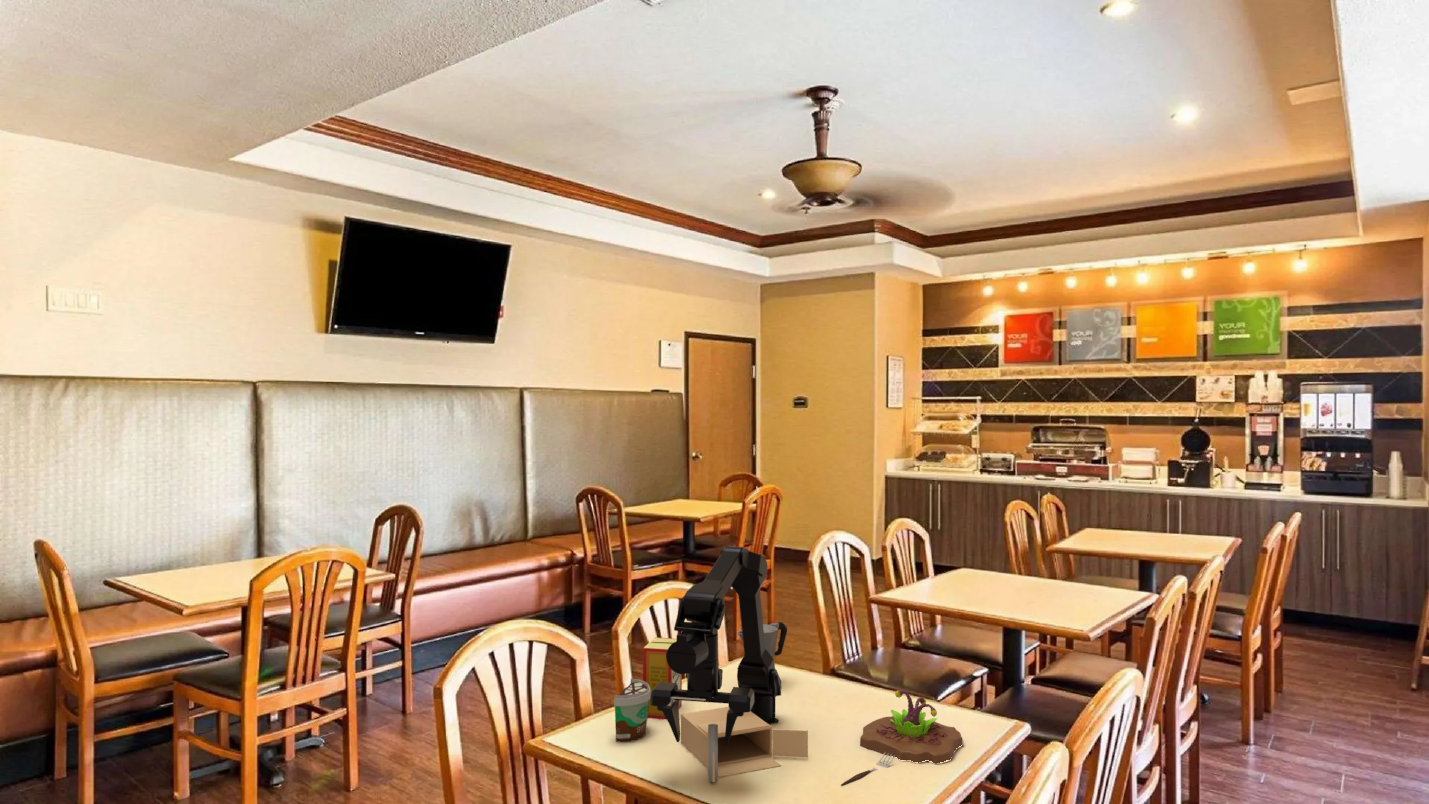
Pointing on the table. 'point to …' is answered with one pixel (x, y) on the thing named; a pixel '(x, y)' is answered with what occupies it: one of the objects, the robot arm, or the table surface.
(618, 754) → the table surface
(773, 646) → the coffeepot
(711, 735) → the flap
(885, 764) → the fork
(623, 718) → the food container
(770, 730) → the carton
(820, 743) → the table surface
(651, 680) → the baking soda box
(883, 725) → the plant
